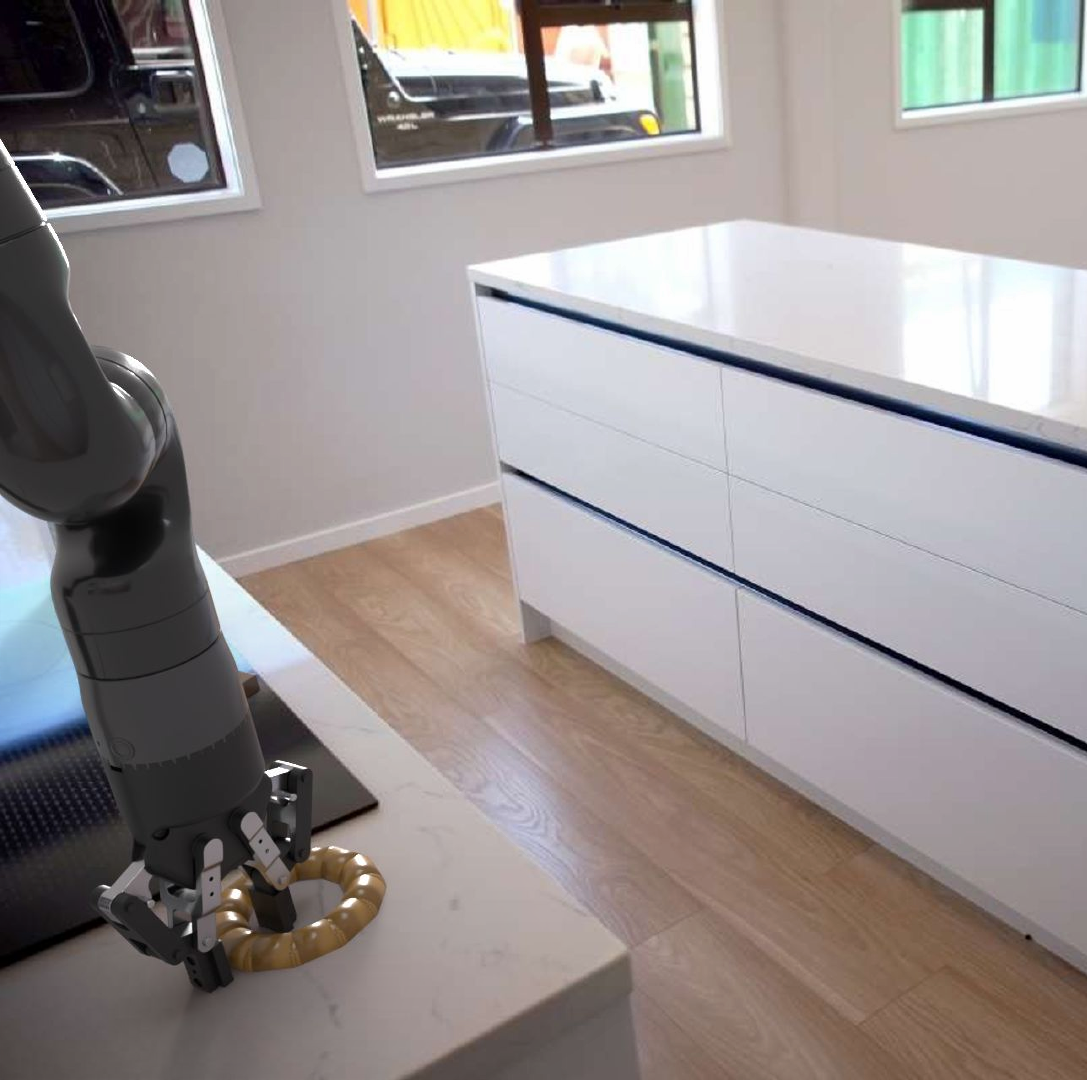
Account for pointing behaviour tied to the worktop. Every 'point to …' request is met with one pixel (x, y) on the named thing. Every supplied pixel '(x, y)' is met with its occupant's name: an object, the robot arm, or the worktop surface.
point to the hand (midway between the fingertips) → (249, 961)
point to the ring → (315, 939)
